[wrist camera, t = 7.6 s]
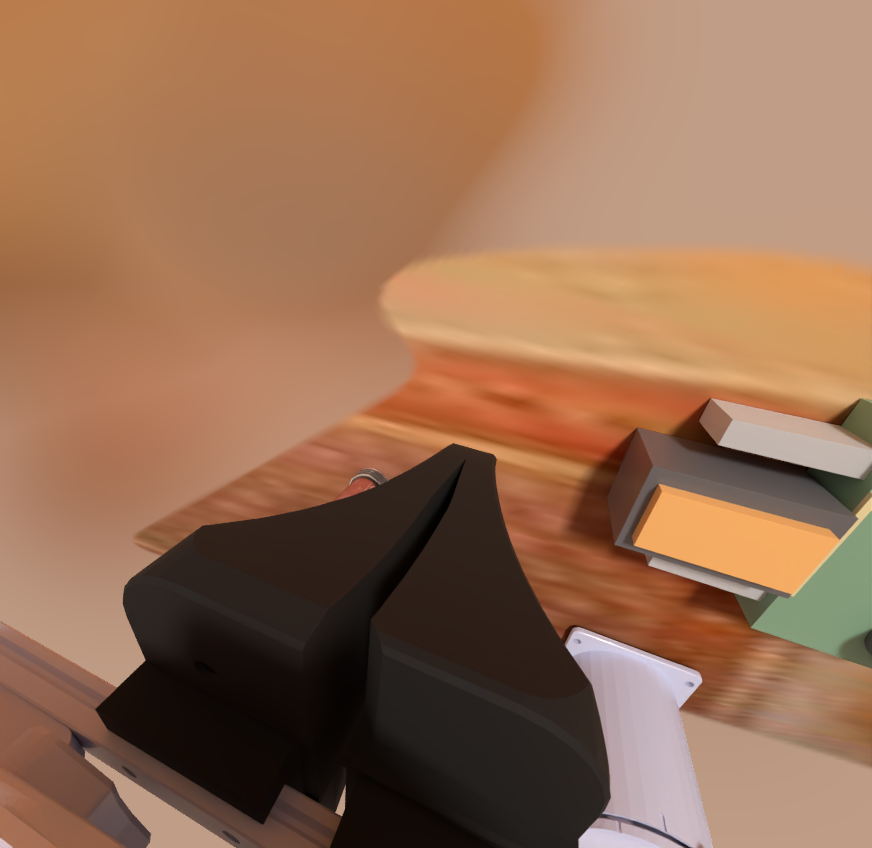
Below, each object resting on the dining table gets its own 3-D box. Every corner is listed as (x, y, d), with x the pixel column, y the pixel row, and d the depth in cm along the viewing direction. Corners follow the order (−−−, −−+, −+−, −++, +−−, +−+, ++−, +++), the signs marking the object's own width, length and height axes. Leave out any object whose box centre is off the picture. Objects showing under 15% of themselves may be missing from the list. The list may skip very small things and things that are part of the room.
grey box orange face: (746, 535, 19) (796, 611, 15) (606, 495, 20) (616, 553, 16) (797, 464, 16) (871, 529, 13) (636, 426, 18) (656, 473, 14)
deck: (905, 635, 18) (990, 730, 14) (630, 549, 21) (644, 610, 17) (1129, 451, 13) (1350, 527, 9) (725, 371, 16) (772, 405, 12)
